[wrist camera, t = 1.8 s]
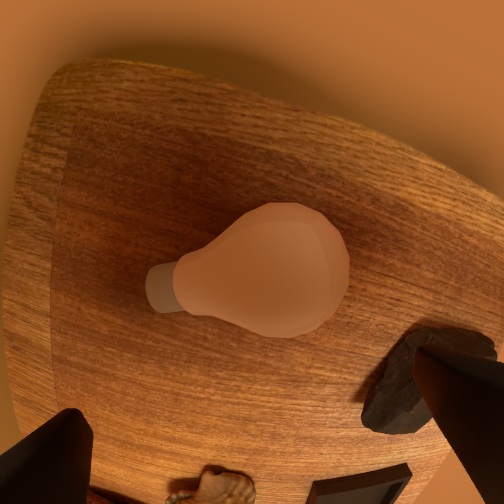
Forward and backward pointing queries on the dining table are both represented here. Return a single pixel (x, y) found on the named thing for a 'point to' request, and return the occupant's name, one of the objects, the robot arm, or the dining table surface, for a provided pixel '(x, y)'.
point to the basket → (96, 499)
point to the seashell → (217, 491)
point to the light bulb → (260, 273)
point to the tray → (362, 487)
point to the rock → (403, 385)
